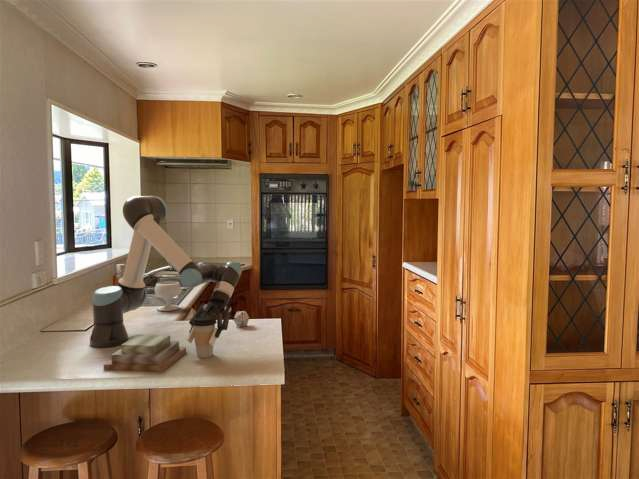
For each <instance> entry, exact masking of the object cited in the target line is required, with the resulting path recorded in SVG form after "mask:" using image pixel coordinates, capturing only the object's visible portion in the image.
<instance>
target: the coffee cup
mask: <svg viewBox="0 0 639 479" xmlns="http://www.w3.org/2000/svg"><path fill="white" fill-rule="evenodd" d="M192 325H193V328H194V339H193V340H194V344H195V349H196V356H197V357H198V358H201V359H202V358H203V359H204V358H210V357H212V356H213V352H214V346H211V345H210V344H209V341H210V338H211V336H212V334H213V332H214V329H215V328H216V325H217V318H215V316H214V315H211V316H198V317H195V318H194V320H193V321H192Z"/></svg>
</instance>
